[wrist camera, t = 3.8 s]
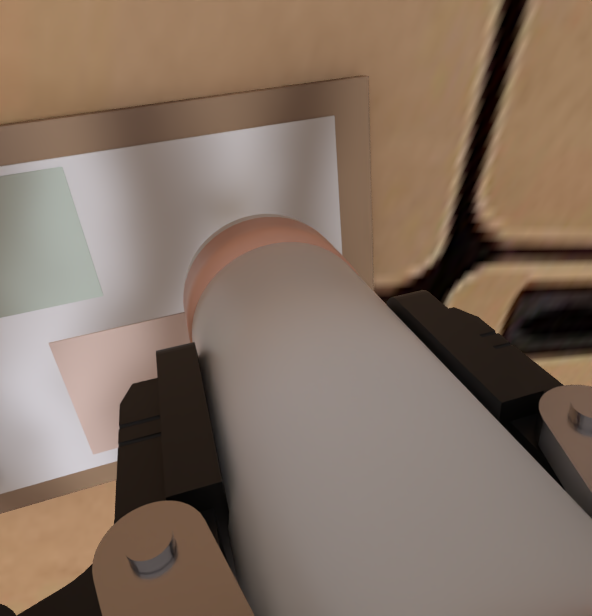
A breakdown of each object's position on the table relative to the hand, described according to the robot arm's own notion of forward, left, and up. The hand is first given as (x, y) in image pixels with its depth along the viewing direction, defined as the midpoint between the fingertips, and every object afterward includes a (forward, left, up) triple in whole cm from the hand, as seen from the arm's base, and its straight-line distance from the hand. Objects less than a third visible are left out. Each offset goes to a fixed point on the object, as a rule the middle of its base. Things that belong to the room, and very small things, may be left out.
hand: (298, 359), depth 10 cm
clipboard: (+3, +4, -12) cm, 13 cm away
